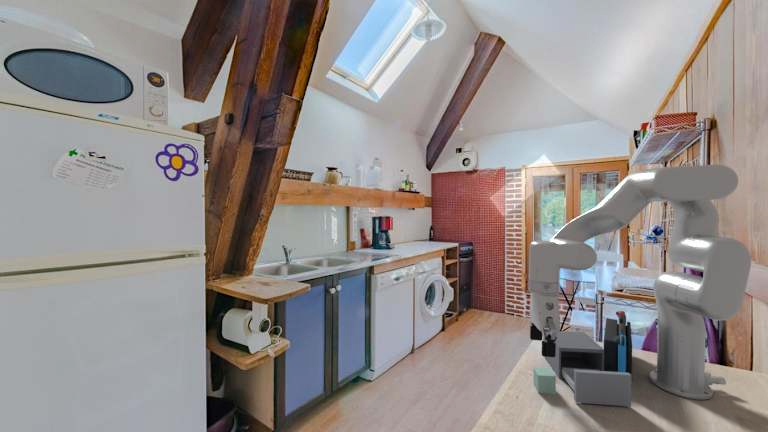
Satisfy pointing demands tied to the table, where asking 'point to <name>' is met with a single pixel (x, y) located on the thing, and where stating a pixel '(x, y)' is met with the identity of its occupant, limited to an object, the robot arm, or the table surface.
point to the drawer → (599, 386)
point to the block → (544, 380)
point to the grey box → (576, 352)
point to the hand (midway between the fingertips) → (541, 347)
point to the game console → (618, 345)
